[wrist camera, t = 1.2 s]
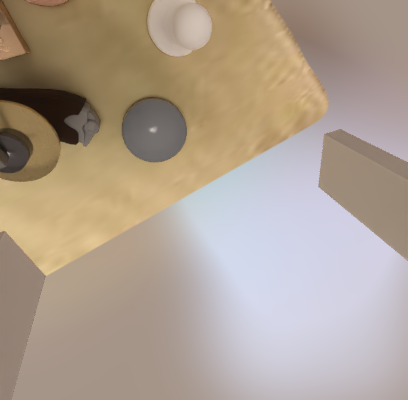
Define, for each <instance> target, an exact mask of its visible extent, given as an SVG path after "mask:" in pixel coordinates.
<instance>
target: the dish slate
mask: <svg viewBox="0 0 408 400" xmlns="http://www.w3.org/2000/svg"><path fill="white" fill-rule="evenodd" d="M122 132H123V139H124V142H125V144H126V146H127V148H128V149H129V150H130V152H131V153H132V154H134V155H135V156H136V157H138V158H140V159H142V160H144V161H148V162H162V161H165V160H168V159H170V158H172V157H173V156H175V155H176V154H177V153H178V152H179V151H180V150H181V148H182V147H183V145H184V143H185V140H186V135H187V128H186V123H185V120H184V118H183V116H182V115H181V113H180V112H179V110H178V109H177V108H176V107H175V106H174V105H173V104H171V103H170V102H168V101H166V100H164V99H161V98H146V99H142V100H140V101H138V102H136V103H135V104H133V105H132V106H131V107H130V108H129V109H128V111H127V112H126V114H125V116H124V119H123V124H122Z"/></svg>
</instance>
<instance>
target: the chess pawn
mask: <svg viewBox="0 0 408 400" xmlns="http://www.w3.org/2000/svg"><path fill="white" fill-rule="evenodd" d="M147 26H148V32H149V34H150V37H151V39H152V41H153V42H154V44H155V45H156V46H157V47H158V48H159V49H160V50H161V51H162V52H163V53H165V54H167V55H169V56H174V57H181V56H185V55H187V54H189V53H191V52H192V51H193V50H198V49H200V48H202V47H203V46H205V45H206V44H207V42H208V41H209V39H210V37H211V33H212V21H211V17H210V15H209V13H208V11H207V10H206V9H205V8H204V7H203V6H201V5H200V4H197V3H196V1H195V0H154V1H153V3H152V4H151V6H150V8H149V12H148V17H147Z"/></svg>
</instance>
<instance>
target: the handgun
mask: <svg viewBox="0 0 408 400" xmlns="http://www.w3.org/2000/svg"><path fill="white" fill-rule="evenodd" d="M0 100H6V101H12V102H16V103H20V104H23V105H25V106H27V107H30V108H32V109H33V110H35V111H37V112H38V113H39V114H41V115H42V116H43V117H44V118H46V119H47V120H48V121H49V123H50V124H51V125H52V126H53V128H54V129H55V131H56V133H57V135H58V137H59V140H60V141H61V142H65V143H69V144H74V145H76V144H77V143H78V142H81V143H84V144H83V146H87V145H88V144H89V142H90V140H91V139H92V137H93V135H94V134H95V133H97V132H98V131H99V127H100V119H99V118H98V116H97V115H96V113H95V111H94V110H93V109H91V108H90V104H88V103H86V102H85V101H86V99H85V98H82V97H80V96H78V95H75V94H72V93H68V92H65V91H58V90H50V89H4V88H0Z"/></svg>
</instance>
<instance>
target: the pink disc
mask: <svg viewBox="0 0 408 400" xmlns="http://www.w3.org/2000/svg"><path fill="white" fill-rule="evenodd" d="M25 1H28V2H30V3H34V4H38V5H44V6H56V5H60V4H63V3H65V2H67V1H69V0H25Z"/></svg>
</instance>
